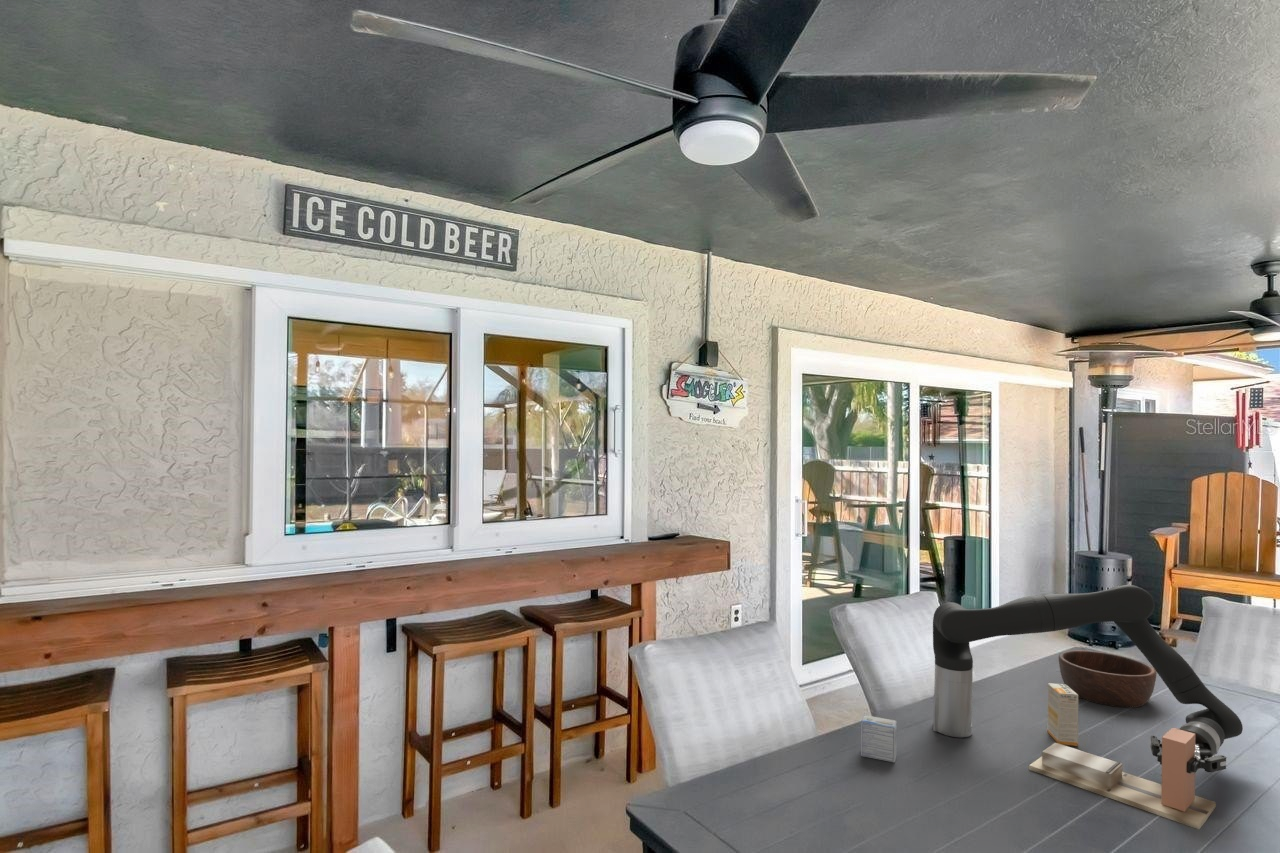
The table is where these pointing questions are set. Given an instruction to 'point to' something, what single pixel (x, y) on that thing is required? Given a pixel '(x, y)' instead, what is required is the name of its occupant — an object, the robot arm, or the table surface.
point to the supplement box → (1062, 714)
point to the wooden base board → (1115, 783)
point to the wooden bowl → (1107, 678)
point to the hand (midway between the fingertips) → (1175, 764)
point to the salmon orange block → (1177, 769)
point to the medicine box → (879, 738)
